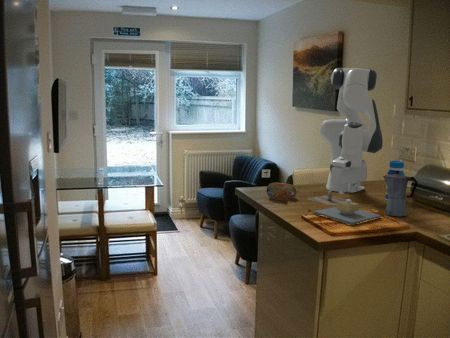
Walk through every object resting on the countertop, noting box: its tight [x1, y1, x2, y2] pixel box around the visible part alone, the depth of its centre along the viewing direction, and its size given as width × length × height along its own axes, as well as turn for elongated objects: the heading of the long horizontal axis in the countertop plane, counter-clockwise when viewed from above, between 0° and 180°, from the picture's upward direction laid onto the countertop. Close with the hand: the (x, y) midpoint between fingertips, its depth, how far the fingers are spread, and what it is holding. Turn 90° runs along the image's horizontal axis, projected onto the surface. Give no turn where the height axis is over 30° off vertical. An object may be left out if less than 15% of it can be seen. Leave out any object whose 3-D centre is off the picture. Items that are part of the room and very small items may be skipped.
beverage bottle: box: [384, 160, 406, 201], centre depth 223 cm, size 8×8×20 cm
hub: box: [313, 198, 382, 226], centre depth 191 cm, size 20×20×8 cm
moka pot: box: [382, 170, 419, 217], centre depth 195 cm, size 10×15×20 cm, turn 51°
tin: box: [266, 181, 297, 202], centre depth 219 cm, size 15×3×8 cm, turn 62°
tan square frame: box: [336, 201, 360, 213], centre depth 191 cm, size 7×7×3 cm
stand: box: [307, 190, 354, 207], centre depth 214 cm, size 16×16×6 cm
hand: (348, 192), depth 190 cm, fingers open, 8 cm apart
